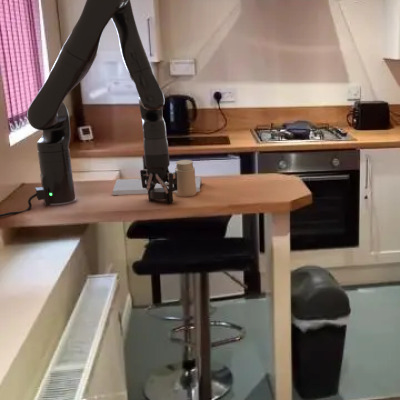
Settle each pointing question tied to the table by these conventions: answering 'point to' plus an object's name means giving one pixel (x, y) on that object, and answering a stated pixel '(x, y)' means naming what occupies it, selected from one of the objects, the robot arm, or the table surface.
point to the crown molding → (140, 186)
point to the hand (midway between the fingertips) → (161, 202)
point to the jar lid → (158, 194)
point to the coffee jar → (185, 178)
